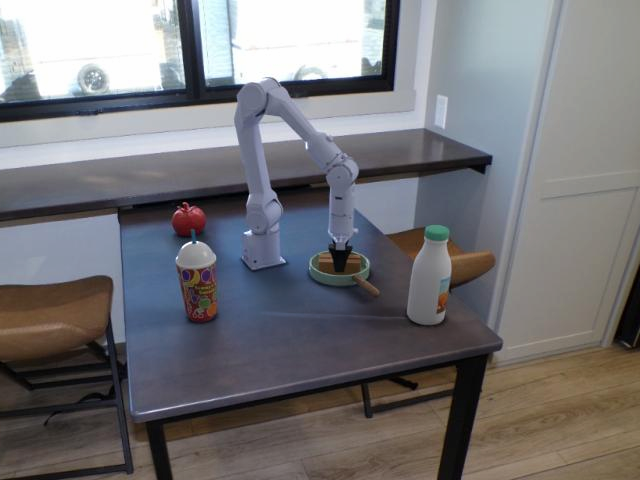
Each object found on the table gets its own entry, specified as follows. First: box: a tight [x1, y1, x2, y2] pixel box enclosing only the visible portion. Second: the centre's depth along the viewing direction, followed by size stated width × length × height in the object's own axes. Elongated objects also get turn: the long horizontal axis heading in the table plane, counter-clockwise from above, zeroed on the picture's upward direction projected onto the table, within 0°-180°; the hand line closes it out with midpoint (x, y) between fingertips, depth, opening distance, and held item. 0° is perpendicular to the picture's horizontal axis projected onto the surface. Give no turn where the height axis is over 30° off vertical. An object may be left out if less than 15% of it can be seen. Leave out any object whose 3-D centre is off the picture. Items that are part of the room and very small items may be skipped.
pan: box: [308, 250, 371, 287], centre depth 128 cm, size 15×15×3 cm
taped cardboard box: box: [319, 254, 361, 275], centre depth 128 cm, size 10×5×4 cm, turn 83°
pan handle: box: [352, 274, 381, 299], centre depth 118 cm, size 10×2×2 cm, turn 23°
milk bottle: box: [406, 224, 452, 326], centre depth 105 cm, size 8×8×20 cm
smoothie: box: [174, 229, 218, 323], centre depth 108 cm, size 8×8×20 cm
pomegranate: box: [171, 202, 207, 237], centre depth 152 cm, size 10×10×9 cm
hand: (339, 264), depth 127 cm, fingers open, 7 cm apart
